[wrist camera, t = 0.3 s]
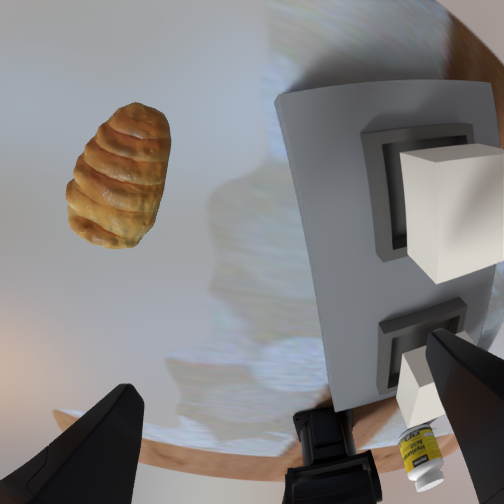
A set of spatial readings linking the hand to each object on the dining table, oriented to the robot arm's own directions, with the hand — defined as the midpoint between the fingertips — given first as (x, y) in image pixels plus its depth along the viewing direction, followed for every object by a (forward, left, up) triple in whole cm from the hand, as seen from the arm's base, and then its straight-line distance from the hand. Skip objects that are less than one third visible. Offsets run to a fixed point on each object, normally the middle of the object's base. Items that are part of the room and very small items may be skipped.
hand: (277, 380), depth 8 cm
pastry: (+6, +9, -14) cm, 17 cm away
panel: (-4, -9, -13) cm, 17 cm away
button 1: (-10, -9, -7) cm, 15 cm away
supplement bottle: (-35, -14, -13) cm, 40 cm away
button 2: (+2, -9, -7) cm, 12 cm away
